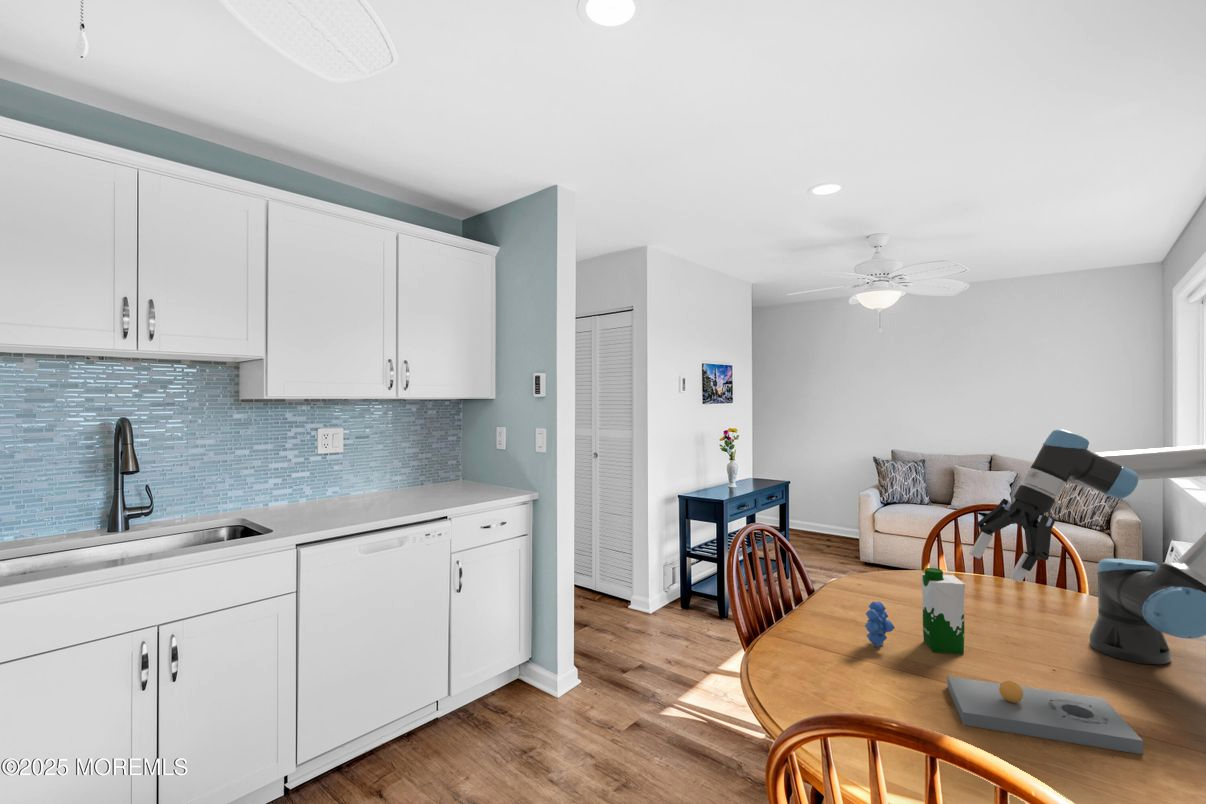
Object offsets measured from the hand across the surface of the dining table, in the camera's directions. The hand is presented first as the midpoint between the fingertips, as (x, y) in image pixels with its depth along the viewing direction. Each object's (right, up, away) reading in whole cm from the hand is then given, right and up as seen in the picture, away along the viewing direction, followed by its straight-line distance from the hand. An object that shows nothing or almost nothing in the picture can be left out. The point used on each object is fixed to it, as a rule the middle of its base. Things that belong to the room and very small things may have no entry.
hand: (993, 567), depth 141 cm
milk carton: (-7, -23, +9) cm, 26 cm away
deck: (-8, -23, -24) cm, 34 cm away
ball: (-12, -19, -23) cm, 32 cm away
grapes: (-23, -23, +9) cm, 34 cm away
